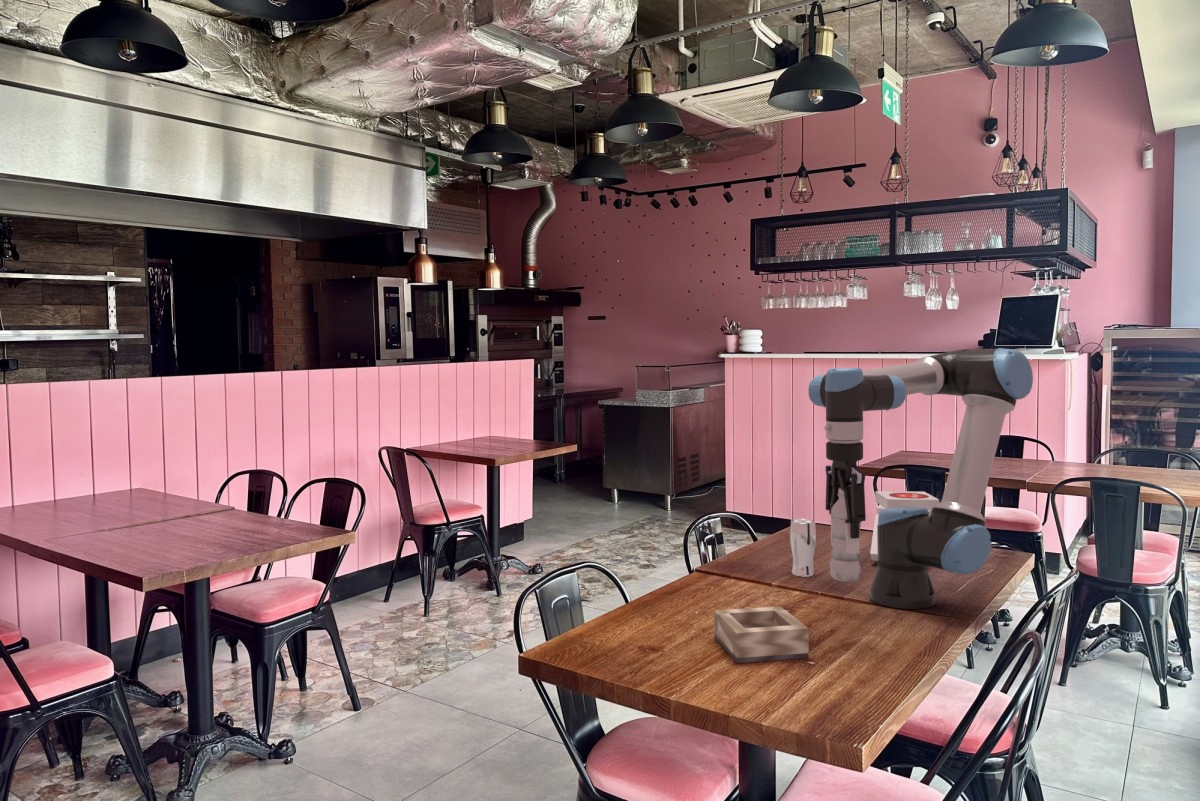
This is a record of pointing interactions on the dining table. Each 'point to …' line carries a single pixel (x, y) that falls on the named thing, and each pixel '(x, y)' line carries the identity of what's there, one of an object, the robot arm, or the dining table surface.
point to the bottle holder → (761, 634)
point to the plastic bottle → (842, 545)
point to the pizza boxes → (899, 500)
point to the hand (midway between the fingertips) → (845, 548)
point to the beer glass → (803, 546)
